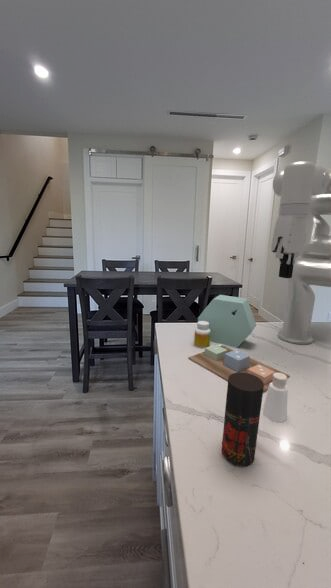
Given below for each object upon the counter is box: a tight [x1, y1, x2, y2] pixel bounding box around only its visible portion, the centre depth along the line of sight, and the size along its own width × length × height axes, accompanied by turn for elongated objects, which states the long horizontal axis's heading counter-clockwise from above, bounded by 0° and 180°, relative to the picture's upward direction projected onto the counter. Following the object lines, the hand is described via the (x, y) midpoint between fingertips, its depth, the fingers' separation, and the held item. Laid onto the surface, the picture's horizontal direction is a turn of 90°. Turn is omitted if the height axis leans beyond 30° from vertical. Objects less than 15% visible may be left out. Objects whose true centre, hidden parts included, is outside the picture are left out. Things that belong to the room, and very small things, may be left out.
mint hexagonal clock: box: [197, 294, 257, 349], centre depth 96 cm, size 17×8×21 cm
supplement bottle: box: [193, 320, 211, 349], centre depth 92 cm, size 5×5×10 cm
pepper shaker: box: [262, 373, 289, 423], centre depth 58 cm, size 5×5×11 cm
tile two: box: [224, 349, 251, 373], centre depth 78 cm, size 5×5×4 cm
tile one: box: [203, 343, 228, 361], centre depth 84 cm, size 5×5×4 cm
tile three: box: [247, 364, 275, 386], centre depth 72 cm, size 5×5×4 cm
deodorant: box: [221, 372, 264, 468], centre depth 48 cm, size 6×6×15 cm
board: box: [187, 344, 290, 394], centre depth 78 cm, size 16×24×2 cm, turn 38°
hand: (285, 277), depth 78 cm, fingers closed
